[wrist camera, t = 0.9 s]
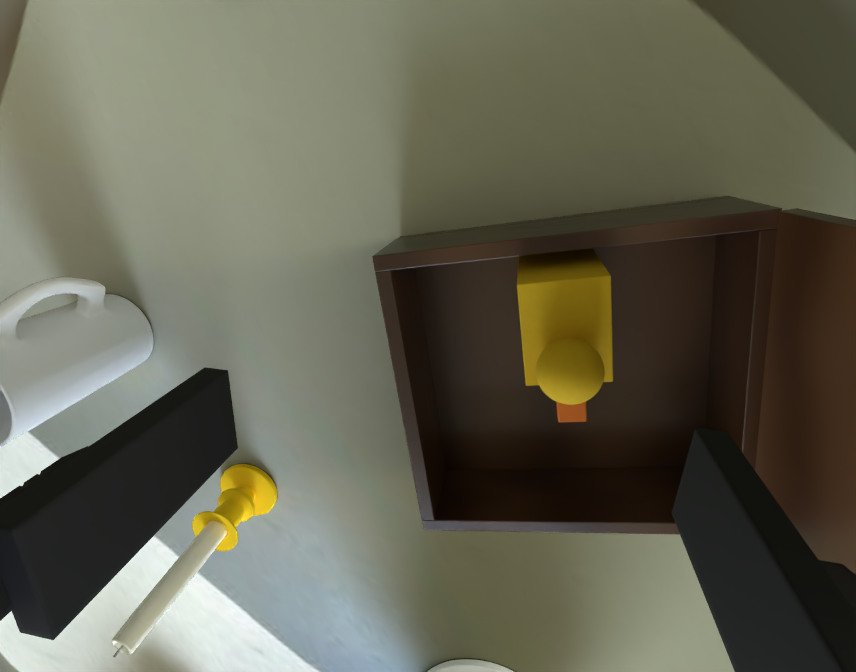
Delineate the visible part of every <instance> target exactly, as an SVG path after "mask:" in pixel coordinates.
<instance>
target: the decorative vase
mask: <svg viewBox="0 0 856 672" xmlns="http://www.w3.org/2000/svg"><path fill="white" fill-rule="evenodd" d="M428 672H514V671H512V670H510V669H508V668H505V667H503V666H500V665H498V664H494V663H491V662H487V661H482V660H473V659H459V660H452V661H447V662H444V663H441V664H439V665H437V666H435V667H433V668H431V669H430V670H429V671H428Z"/></svg>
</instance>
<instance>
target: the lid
mask: <svg viewBox="0 0 856 672" xmlns="http://www.w3.org/2000/svg"><path fill="white" fill-rule="evenodd" d="M755 471H756V473H757V474H758V475H759V477H760V478H761V480H762V481H763V483H764V484H765V485H766V487H767V488H768V490H769V491H770V492H771V494H772V495H773V497H774V498H775V499H776V501H777V502H778V504H779V505H780V506H781V508H782V509H783V511H784V512H785V513H786V515H787V516H788V518H789V519H790V521H791V522H792V523H793V525H794V526H795V528H796V529H797V530H798V532H799V533H800V535H801V536H802V537H803V539H804V540H805V542H806V543H807V544H808V546H809V547H810V549H811V550H812V552H813V553H814V554H815V556H816V557H817V559H818V560H822V561H828V562H834V563H841V564H843V565H844V566H846V567H847V568H848V569H849V570H850V571H852V572H853V573H854V574H855V575H856V220H852V219H847V218H842V217H837V216H832V215H827V214H822V213H817V212H812V211H807V210H802V209H790V210H781V211H779V215H778V226H777V237H776V248H775V259H774V270H773V281H772V292H771V302H770V313H769V324H768V335H767V346H766V357H765V368H764V379H763V390H762V400H761V411H760V422H759V433H758V444H757V455H756V466H755Z"/></svg>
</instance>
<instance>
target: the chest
mask: <svg viewBox="0 0 856 672" xmlns="http://www.w3.org/2000/svg"><path fill="white" fill-rule="evenodd" d="M781 210H782V208H778V207H774V206H769V205H765V204H761V203H757V202H753V201H748V200H744V199H740V198H736V197H731V196H723V197H715V198H707V199H699V200H691V201H683V202H675V203H667V204H659V205H651V206H643V207H635V208H627V209H619V210H610V211H602V212H594V213H586V214H578V215H570V216H562V217H554V218H546V219H538V220H530V221H522V222H514V223H506V224H498V225H490V226H482V227H474V228H465V229H457V230H449V231H441V232H433V233H425V234H417V235H409V236H401V237H399V238H398V239H396V240H395V241H393V242H392V243H390V244H389V245H388V246H386V247H385V248H383V249H382V250H381V251H379V252H378V253H376V254H375V255H374V256H373V263H374V268H375V274H376V279H377V284H378V290H379V295H380V300H381V306H382V311H383V316H384V322H385V327H386V332H387V338H388V343H389V348H390V354H391V359H392V364H393V370H394V375H395V380H396V386H397V391H398V396H399V402H400V407H401V412H402V418H403V423H404V428H405V434H406V439H407V444H408V450H409V455H410V460H411V466H412V471H413V476H414V482H415V487H416V492H417V498H418V503H419V508H420V514H421V519H422V523H423V529H424V530H453V531H511V532H569V533H627V534H680V533H679V530H678V528H677V525H676V523H675V520H674V518H673V515H672V510H673V506H674V503H675V499H676V495H677V492H678V488H679V485H680V481H681V477H682V474H683V470H684V467H685V463H686V459H687V456H688V452H689V449H690V445H691V441H692V438H693V434H694V431H695V428H701V429H709V430H717V431H726V432H728V433H729V435H730V436H731V437H732V439H733V440H734V442H735V443H736V445H737V446H738V447H739V449H740V450H741V452H742V453H743V454H744V456H745V457H746V459H747V460H748V461H749V463H750V464H751V466H752V467H753V468H754V470H755V466H756V455H757V444H758V433H759V422H760V411H761V400H762V390H763V379H764V368H765V357H766V346H767V335H768V324H769V313H770V302H771V292H772V281H773V270H774V259H775V248H776V237H777V226H778V215H779V211H781ZM591 248H593V250H594V251H595V253H596V254H597V256H598V257H599V259H600V260H601V262H602V263H603V265H604V266H605V268H606V270H607V271H608V273H609V274H610V276H611V304H612V349H613V381H612V382H603V384H602V386H601V388H600V390H599V391H598V392H597V393H596V394H595V396H593V397H592V398H591V399H589V400H587V401H586V411H587V421H585V422H558V417H557V403H556V401H554V400H552V399H551V398H550V397H548V396H547V395H546V394H545V393H544V392H543V391H542V389H541V387H540V386H539V385H534V386H526V383H525V372H524V360H523V349H522V338H521V327H520V316H519V304H518V293H517V275H518V260H519V256H526V255H536V254H545V253H554V252H563V251H572V250H582V249H591Z"/></svg>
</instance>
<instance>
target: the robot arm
mask: <svg viewBox="0 0 856 672" xmlns="http://www.w3.org/2000/svg"><path fill="white" fill-rule="evenodd" d="M237 448H238V446H237V438H236V431H235V423H234V415H233V407H232V399H231V391H230V384H229V376H228V370H220V369H212V368H203V369H202V370H200V371H199V372H198V373H196V374H195V375H193V376H192V377H190V378H189V379H187V380H186V381H184V382H183V383H181V384H180V385H179V386H177V387H176V388H174V389H173V390H171V391H170V392H168V393H167V394H165V395H164V396H162V397H161V398H160V399H158V400H157V401H155V402H154V403H152V404H151V405H149V406H148V407H146V408H145V409H143V410H142V411H141V412H139V413H138V414H136V415H135V416H133V417H132V418H130V419H129V420H127V421H126V422H124V423H123V424H122V425H120V426H119V427H117V428H116V429H114V430H113V431H111V432H110V433H108V434H107V435H105V436H104V437H103V438H101V439H100V440H98V441H97V442H95V443H94V444H92V445H91V446H89V447H88V446H87V447H85V448H83V449H80V450H78V451H76V452H73V453H71V454H69V455H66V456H64V457H62V458H60V459H59V460H57V461H56V462H54V463H53V464H51V465H50V466H48V467H47V468H45V469H44V470H42V471H41V474H40V475H39V474H36V475H35V476H33V477H32V478H30V479H29V480H27V481H26V482H24V485H23V486H18V487H17V488H15V489H14V490H12V491H11V492H9V493H8V494H6V495H5V496H3V497H2V498H0V621H1V620H2V619H3V618H4V617H5V616H6V615H7V614H8V613H9V612H11V611H12V613H13V615H14V618H15V620H16V623H17V626H18V628H19V631H20V632H21V633H25V634H29V635H34V636H38V637H42V638H47V639H51V640H54V639H55V638H56V637H57V636H58V635H59V634H60V633H61V632H62V631H63V629H64V628H65V627H66V626H67V625H68V624H69V623H70V622H71V621H72V620H73V619H74V618H75V617H76V616H77V615H78V614H79V613H80V612H81V611H82V610H83V609H84V608H85V607H86V606H87V604H88V603H89V602H90V601H91V600H92V599H93V598H94V597H95V596H96V595H97V594H98V593H99V592H100V591H101V590H102V589H103V588H104V587H105V586H106V585H107V584H108V583H109V582H110V581H111V579H112V578H113V577H114V576H115V575H116V574H117V573H118V572H119V571H120V570H121V569H122V568H123V567H124V566H125V565H126V564H127V563H128V562H129V561H130V560H131V559H132V558H133V557H134V556H135V554H136V553H137V552H138V551H139V550H140V549H141V548H142V547H143V546H144V545H145V544H146V543H147V542H148V541H149V540H150V539H151V538H152V537H153V536H154V535H155V534H156V533H157V532H158V531H159V529H160V528H161V527H162V526H163V525H164V524H165V523H166V522H167V521H168V520H169V519H170V518H171V517H172V516H173V515H174V514H175V513H176V512H177V511H178V510H179V509H180V508H181V507H182V506H183V504H184V503H185V502H186V501H187V500H188V499H189V498H190V497H191V496H192V495H193V494H194V493H195V492H196V491H197V490H198V489H199V488H200V487H201V486H202V485H203V484H204V483H205V482H206V481H207V479H208V478H209V477H210V476H211V475H212V474H213V473H214V472H215V471H216V470H217V469H218V468H219V467H220V466H221V465H222V464H223V463H224V462H225V461H226V460H227V459H228V458H229V457H230V456H231V454H232V453H233V452H234V451H235V450H236V449H237ZM672 515H673V518H674V520H675V523H676V525H677V528H678V530H679V533H680V535H681V538H682V540H683V543H684V545H685V548H686V550H687V553H688V555H689V558H690V560H691V563H692V565H693V568H694V570H695V573H696V575H697V578H698V580H699V583H700V585H701V588H702V590H703V593H704V595H705V598H706V600H707V603H708V605H709V608H710V610H711V613H712V615H713V618H714V620H715V623H716V625H717V628H718V630H719V633H720V635H721V638H722V640H723V643H724V645H725V648H726V650H727V653H728V655H729V658H730V660H731V663H732V665H733V668H734V670H735V672H856V575H855V574H854V573H853V572H852V571H850V570H849V569H848V568H847V567H846V566H844V565H843V564H841V563H834V562H828V561H822V560H818V559H817V557H816V556H815V554H814V553H813V552H812V550H811V549H810V547H809V546H808V544H807V543H806V542H805V540H804V539H803V537H802V536H801V535H800V533H799V532H798V530H797V529H796V528H795V526H794V525H793V523H792V522H791V521H790V519H789V518H788V516H787V515H786V513H785V512H784V511H783V509H782V508H781V506H780V505H779V504H778V502H777V501H776V499H775V498H774V497H773V495H772V494H771V492H770V491H769V490H768V488H767V487H766V485H765V484H764V483H763V481H762V480H761V478H760V477H759V475H758V474H757V473H756V471H755V470H754V468H753V467H752V466H751V464H750V463H749V461H748V460H747V459H746V457H745V456H744V454H743V453H742V452H741V450H740V449H739V447H738V446H737V445H736V443H735V442H734V440H733V439H732V437H731V436H730V435H729V433H728V432H726V431H717V430H709V429H701V428H695V431H694V434H693V438H692V441H691V445H690V449H689V452H688V456H687V459H686V463H685V467H684V470H683V474H682V477H681V481H680V485H679V488H678V492H677V495H676V499H675V503H674V506H673V510H672Z"/></svg>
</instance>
